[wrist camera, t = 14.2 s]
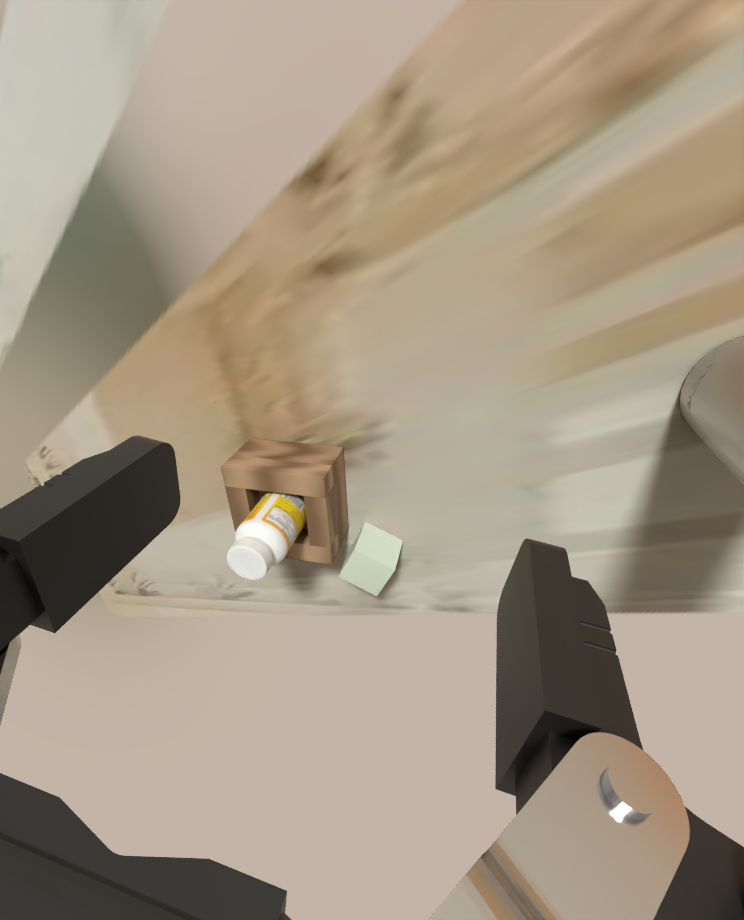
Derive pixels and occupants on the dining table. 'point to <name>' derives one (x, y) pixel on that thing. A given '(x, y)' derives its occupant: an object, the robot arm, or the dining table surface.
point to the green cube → (371, 559)
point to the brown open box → (293, 490)
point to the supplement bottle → (267, 534)
